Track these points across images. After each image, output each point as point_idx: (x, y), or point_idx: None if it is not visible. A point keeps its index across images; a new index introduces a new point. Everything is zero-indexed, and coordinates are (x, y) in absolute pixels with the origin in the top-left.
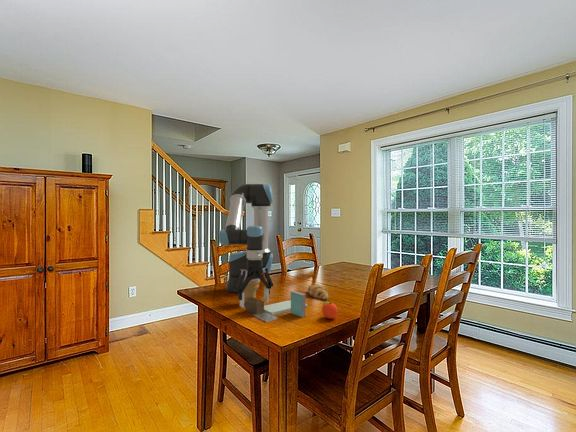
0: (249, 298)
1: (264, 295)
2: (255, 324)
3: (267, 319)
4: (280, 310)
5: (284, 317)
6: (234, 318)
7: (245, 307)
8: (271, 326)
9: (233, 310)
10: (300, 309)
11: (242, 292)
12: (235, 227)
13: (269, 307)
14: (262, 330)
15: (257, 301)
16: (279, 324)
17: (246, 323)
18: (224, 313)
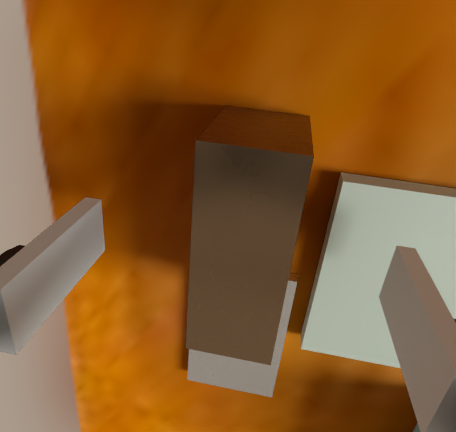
0: (233, 184)
1: (415, 293)
2: (121, 351)
3: (201, 377)
4: (389, 362)
5: (326, 400)
6: (59, 196)
7: (219, 115)
8: (171, 414)
9: (140, 2)
10: None
11: (3, 329)
12: None
13: None
14: (109, 410)
15: (222, 324)
16: (220, 427)
17: (87, 311)
18: (31, 25)
